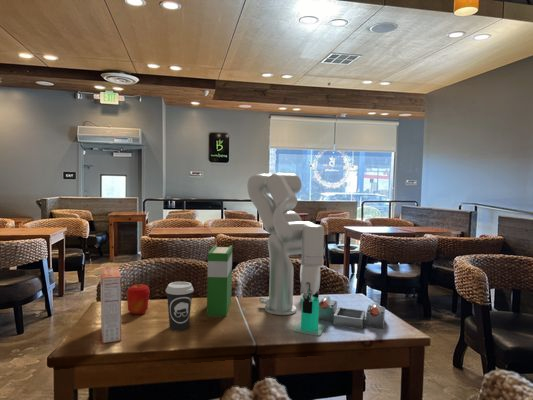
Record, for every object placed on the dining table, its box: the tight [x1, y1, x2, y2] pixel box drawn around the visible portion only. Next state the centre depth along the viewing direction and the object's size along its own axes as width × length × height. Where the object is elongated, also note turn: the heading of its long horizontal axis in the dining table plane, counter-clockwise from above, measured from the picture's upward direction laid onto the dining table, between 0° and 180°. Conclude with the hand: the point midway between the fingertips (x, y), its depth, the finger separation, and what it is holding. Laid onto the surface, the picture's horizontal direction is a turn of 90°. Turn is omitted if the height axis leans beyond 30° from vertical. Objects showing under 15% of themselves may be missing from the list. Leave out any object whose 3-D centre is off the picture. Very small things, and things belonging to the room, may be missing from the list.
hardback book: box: [206, 244, 233, 318], centre depth 153 cm, size 18×7×24 cm, turn 179°
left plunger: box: [319, 295, 332, 309], centre depth 144 cm, size 3×8×3 cm, turn 160°
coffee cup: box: [165, 281, 195, 332], centre depth 133 cm, size 10×10×15 cm
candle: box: [300, 297, 320, 331], centre depth 135 cm, size 6×6×12 cm
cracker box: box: [100, 266, 122, 344], centre depth 126 cm, size 14×6×21 cm, turn 24°
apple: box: [126, 282, 151, 316], centre depth 146 cm, size 9×8×12 cm
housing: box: [318, 298, 386, 330], centre depth 143 cm, size 24×13×6 cm, turn 70°
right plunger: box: [370, 301, 381, 316], centre depth 138 cm, size 3×8×3 cm, turn 160°
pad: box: [293, 321, 326, 337], centre depth 135 cm, size 9×9×1 cm
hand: (310, 308), depth 134 cm, fingers open, 9 cm apart
